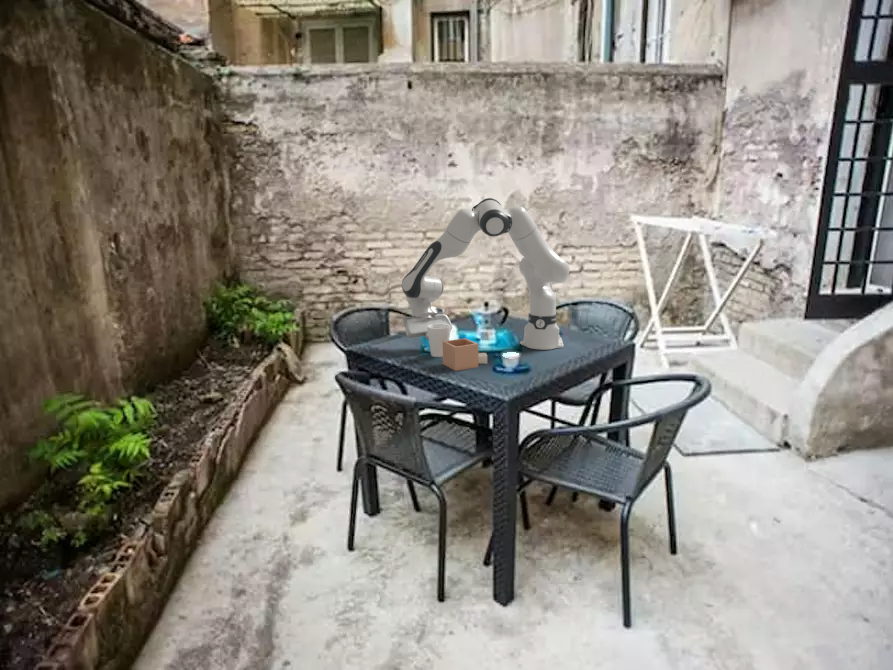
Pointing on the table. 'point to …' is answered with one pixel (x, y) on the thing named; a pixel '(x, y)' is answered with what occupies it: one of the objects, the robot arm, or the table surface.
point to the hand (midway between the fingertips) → (434, 342)
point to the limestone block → (482, 358)
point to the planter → (460, 354)
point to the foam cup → (438, 337)
